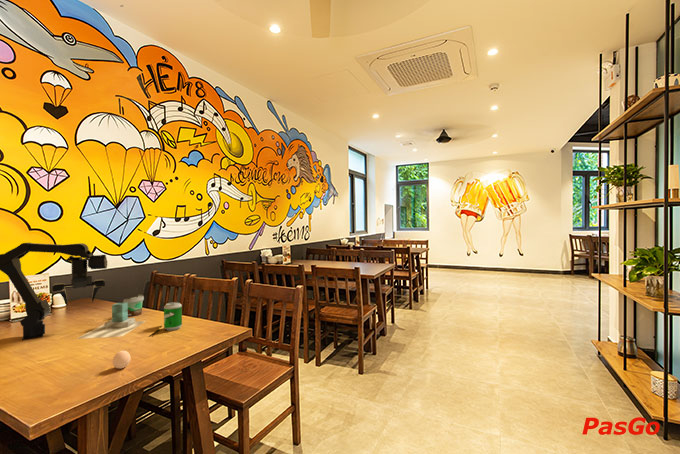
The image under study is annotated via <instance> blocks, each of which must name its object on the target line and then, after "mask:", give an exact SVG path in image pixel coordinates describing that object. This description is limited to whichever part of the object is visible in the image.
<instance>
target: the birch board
mask: <svg viewBox="0 0 680 454" xmlns="http://www.w3.org/2000/svg"><path fill="white" fill-rule="evenodd" d="M145 322H147V320H139V321H136V320H135V323H134V324H133V325H131V326H129V327H124V328H104V324H102V325H100V326H97V327H96V328H94V329H92V330H90V331H88V332H86V333H84V334H83V335H81V336H78V337H77V338H76V339H77V340H81V339H84V340H85V339H102V338H119V337H124V336H125V335H127V334H128V333H130V332H131V331H133V330H134V329H136V328H137V327H139V326H141V325H142V324H144V323H145Z"/></svg>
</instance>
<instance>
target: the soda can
mask: <svg viewBox="0 0 680 454" xmlns="http://www.w3.org/2000/svg"><path fill="white" fill-rule="evenodd" d="M182 309H183V305H182V304H181V303H180V302H178V301H175V302H173V301H172V302H168V303H167V302H166V304H165V305H164V307H163V328H164V329H165V330H166V331H169V332H171V331H172V332H173V331H177V330H179V329H181V327H182V326H183V310H182Z"/></svg>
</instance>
